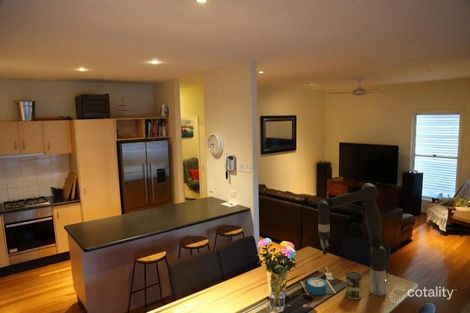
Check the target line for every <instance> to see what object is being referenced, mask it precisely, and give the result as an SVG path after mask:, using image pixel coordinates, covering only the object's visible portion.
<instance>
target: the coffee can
mask: <svg viewBox="0 0 470 313" xmlns="http://www.w3.org/2000/svg"><path fill="white" fill-rule="evenodd" d="M362 293H363V275H362V274H361V273H359V272H356V271H348V272H346V273H345V295H346V297H348V298H349V299H351V300H360V299H362V297H363V294H362Z"/></svg>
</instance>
